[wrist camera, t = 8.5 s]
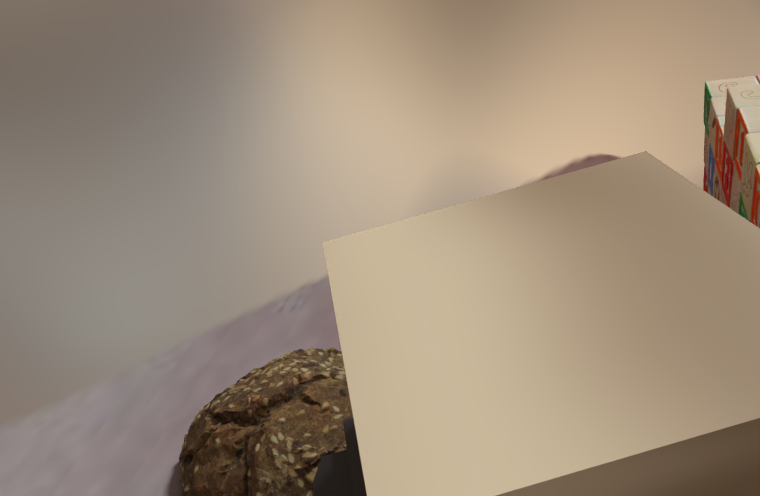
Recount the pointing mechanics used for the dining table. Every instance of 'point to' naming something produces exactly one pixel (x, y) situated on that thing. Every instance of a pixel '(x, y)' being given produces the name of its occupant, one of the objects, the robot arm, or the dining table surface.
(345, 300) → the maple pillar
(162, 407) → the dining table surface
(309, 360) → the bread roll
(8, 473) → the dining table surface
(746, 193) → the stack of blocks
